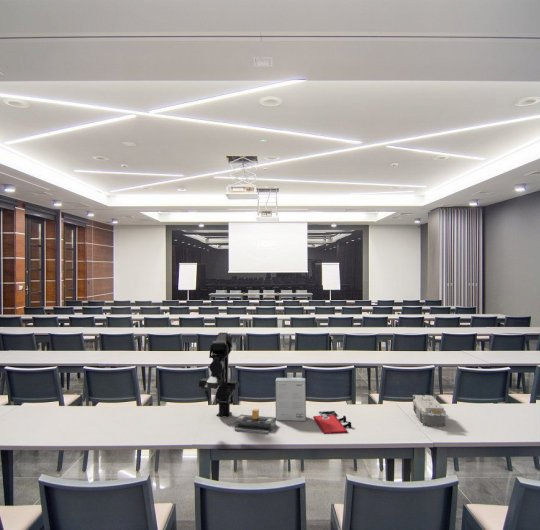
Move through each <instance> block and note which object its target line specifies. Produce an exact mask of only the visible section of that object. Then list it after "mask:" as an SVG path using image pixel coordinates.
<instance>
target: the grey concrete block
mask: <svg viewBox="0 0 540 530" xmlns="http://www.w3.org/2000/svg"><path fill="white" fill-rule="evenodd" d="M412 397H413V400H412V403H413V404H412V405H413V406H412V407H413V408H412V410H413V412H414V414H415V417H416V418H417V419H418V421H419V422H421V423H422V426H426V427H443V426H446V417H447V416H448V414H447V412H446V410H445V408H444V407H443V405H441V403H440V402H439V401H438V400H437V399H436V398H435V397H434V396H433V395H429V394H423V395H422V394H412Z"/></svg>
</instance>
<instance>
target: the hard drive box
mask: <svg viewBox="0 0 540 530" xmlns="http://www.w3.org/2000/svg"><path fill="white" fill-rule="evenodd" d="M274 383H275V390H274V392H275V418H276V421H295V422H301V421H302V422H303V421H304V422H306V420H307V407H306V405H307V402H306V401H307V398H306V397H307V396H306V395H307V394H306V393H307V390H306V389H307V388H306V387H307V386H306V385H307V384H306V378H305V377H276V379H275V382H274Z"/></svg>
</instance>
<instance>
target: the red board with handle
mask: <svg viewBox="0 0 540 530" xmlns="http://www.w3.org/2000/svg"><path fill="white" fill-rule="evenodd" d="M318 413H319V414H320V415H313V419H314V421H315V423H316V424H317V425H318V427H319V429H320V430H321V432H322V433H323V434H324V435H327V434H330V435H331V434H348V433H349V431H348V430H347V429H346V428H349V429H352V422H351V421H348V422H347V417H346V415H343V417H340V418H338V417H337V416H338V414H337V412H336V411H335V410H329V411H328V410H326V411H324V410H323V411H318ZM342 422H344V423H345V424H343V423H342Z"/></svg>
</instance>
